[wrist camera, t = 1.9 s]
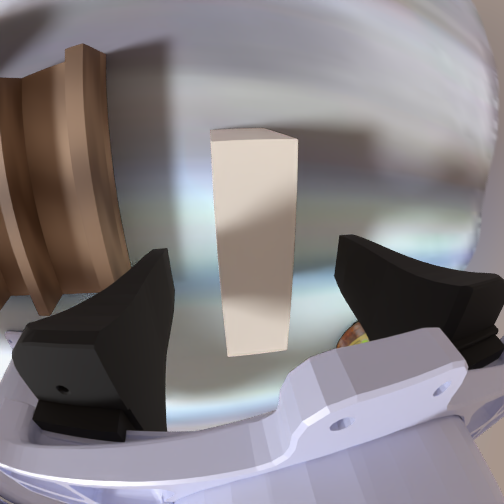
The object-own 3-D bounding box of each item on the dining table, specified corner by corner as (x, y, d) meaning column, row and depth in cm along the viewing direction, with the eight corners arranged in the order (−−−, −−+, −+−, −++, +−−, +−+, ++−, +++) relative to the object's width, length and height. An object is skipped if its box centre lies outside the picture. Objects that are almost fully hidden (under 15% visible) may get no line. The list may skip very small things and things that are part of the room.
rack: (134, 282, 19) (124, 314, 16) (1, 289, 17) (-18, 313, 14) (105, 54, 12) (82, 43, 9) (-39, 113, 11) (-69, 120, 7)
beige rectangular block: (263, 277, 20) (287, 349, 14) (219, 281, 20) (227, 357, 14) (262, 127, 16) (298, 139, 10) (209, 129, 15) (210, 141, 9)
